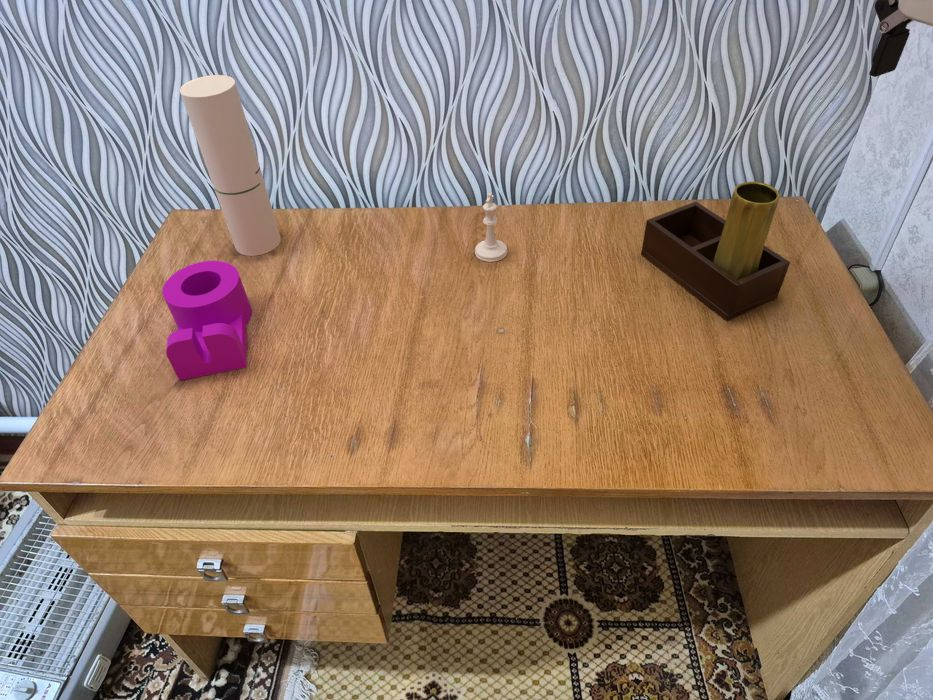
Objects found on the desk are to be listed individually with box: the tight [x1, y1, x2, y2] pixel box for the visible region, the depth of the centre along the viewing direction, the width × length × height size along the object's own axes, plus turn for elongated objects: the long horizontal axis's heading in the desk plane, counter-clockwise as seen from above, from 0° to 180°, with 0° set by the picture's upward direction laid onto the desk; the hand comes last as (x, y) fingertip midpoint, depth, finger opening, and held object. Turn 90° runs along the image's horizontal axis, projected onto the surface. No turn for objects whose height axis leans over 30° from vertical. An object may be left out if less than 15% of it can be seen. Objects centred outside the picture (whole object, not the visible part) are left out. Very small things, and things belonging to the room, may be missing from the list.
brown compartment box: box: [640, 201, 791, 322], centre depth 91 cm, size 9×17×6 cm, turn 28°
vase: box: [713, 181, 781, 280], centre depth 85 cm, size 6×6×14 cm
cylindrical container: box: [179, 74, 282, 257], centre depth 96 cm, size 7×7×25 cm
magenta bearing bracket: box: [161, 260, 253, 381], centre depth 88 cm, size 16×10×6 cm, turn 14°
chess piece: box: [474, 192, 509, 263], centre depth 96 cm, size 5×5×10 cm
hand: (925, 89), depth 65 cm, fingers open, 9 cm apart
